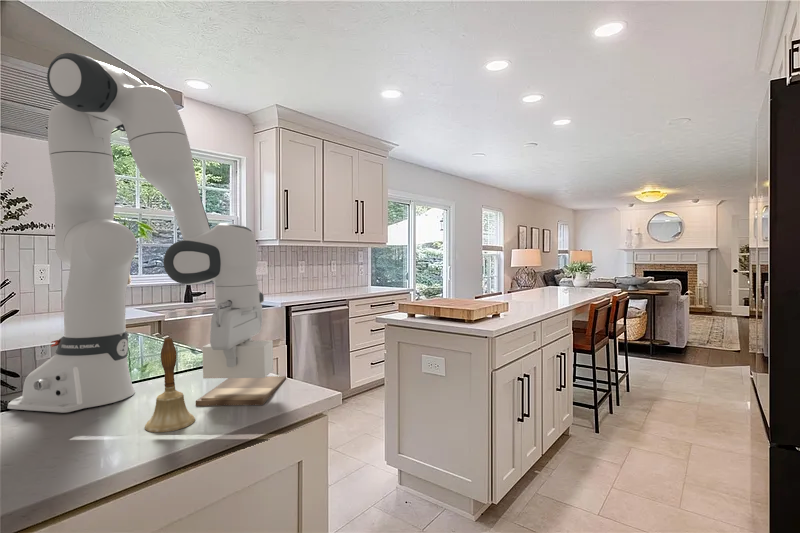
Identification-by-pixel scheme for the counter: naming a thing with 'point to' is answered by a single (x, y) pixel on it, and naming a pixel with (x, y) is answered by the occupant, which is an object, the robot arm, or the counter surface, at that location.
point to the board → (242, 391)
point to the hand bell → (169, 398)
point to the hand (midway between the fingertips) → (239, 361)
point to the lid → (240, 361)
